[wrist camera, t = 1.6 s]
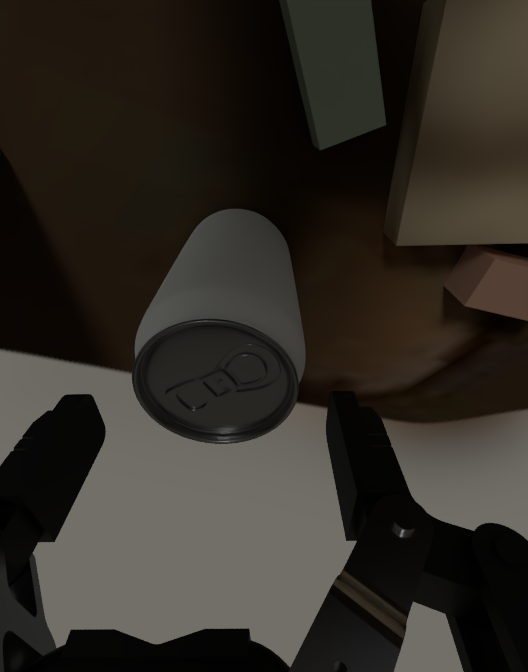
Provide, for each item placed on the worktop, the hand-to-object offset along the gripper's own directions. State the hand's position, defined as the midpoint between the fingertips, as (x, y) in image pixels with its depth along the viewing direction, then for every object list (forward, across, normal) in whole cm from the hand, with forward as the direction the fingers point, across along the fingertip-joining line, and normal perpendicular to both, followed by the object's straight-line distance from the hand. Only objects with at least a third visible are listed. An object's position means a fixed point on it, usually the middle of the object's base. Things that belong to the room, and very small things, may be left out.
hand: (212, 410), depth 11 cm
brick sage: (+12, -5, -10) cm, 17 cm away
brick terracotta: (+12, -17, +1) cm, 21 cm away
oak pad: (+12, -14, -7) cm, 20 cm away
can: (+12, 0, -1) cm, 13 cm away
